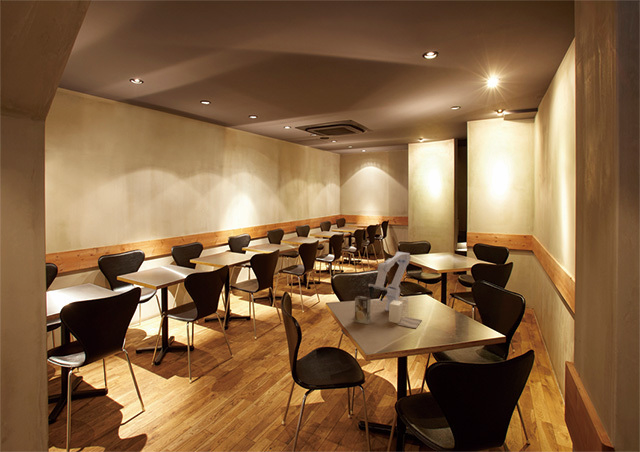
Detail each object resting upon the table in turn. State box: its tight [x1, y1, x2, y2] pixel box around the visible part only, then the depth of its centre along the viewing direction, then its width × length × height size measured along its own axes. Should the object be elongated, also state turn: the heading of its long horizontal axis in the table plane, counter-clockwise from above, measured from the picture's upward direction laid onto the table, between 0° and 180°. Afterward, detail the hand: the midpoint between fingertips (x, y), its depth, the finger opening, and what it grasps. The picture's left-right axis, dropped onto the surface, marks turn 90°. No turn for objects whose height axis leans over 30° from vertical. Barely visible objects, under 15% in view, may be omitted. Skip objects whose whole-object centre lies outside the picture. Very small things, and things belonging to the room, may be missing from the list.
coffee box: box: [354, 295, 372, 325], centre depth 219 cm, size 9×6×16 cm
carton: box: [388, 300, 404, 324], centre depth 222 cm, size 9×6×12 cm
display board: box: [397, 316, 423, 330], centre depth 218 cm, size 16×12×1 cm
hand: (375, 299), depth 227 cm, fingers open, 7 cm apart
